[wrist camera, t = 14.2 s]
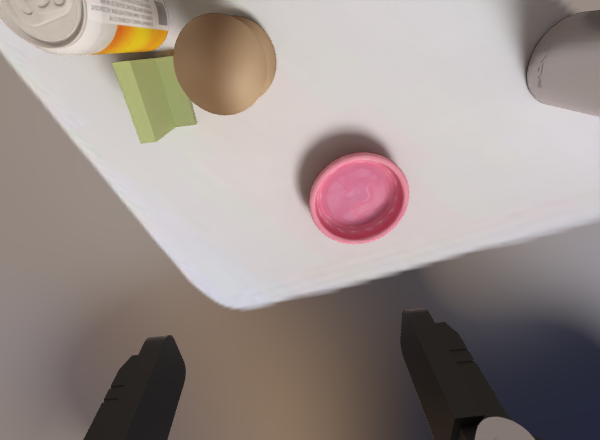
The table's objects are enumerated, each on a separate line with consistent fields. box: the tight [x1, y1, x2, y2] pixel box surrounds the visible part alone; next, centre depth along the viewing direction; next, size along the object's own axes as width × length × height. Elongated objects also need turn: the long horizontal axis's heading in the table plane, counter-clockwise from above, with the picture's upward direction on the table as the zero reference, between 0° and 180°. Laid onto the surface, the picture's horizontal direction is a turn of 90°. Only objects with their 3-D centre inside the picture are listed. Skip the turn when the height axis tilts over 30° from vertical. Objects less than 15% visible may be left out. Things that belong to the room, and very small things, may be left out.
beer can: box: [0, 0, 169, 56], centre depth 25 cm, size 6×6×15 cm
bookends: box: [112, 56, 197, 144], centre depth 28 cm, size 6×22×7 cm, turn 6°
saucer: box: [309, 152, 409, 244], centre depth 41 cm, size 12×12×3 cm
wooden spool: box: [173, 13, 276, 115], centre depth 29 cm, size 8×8×11 cm
